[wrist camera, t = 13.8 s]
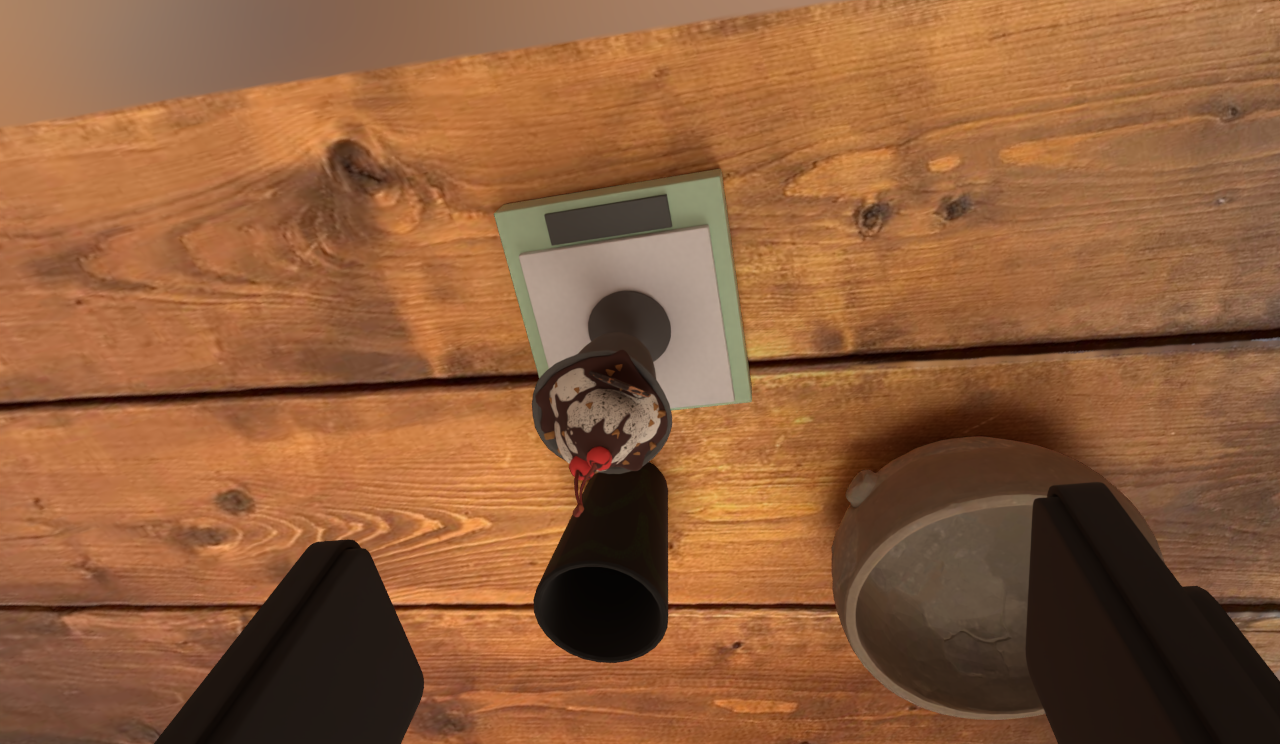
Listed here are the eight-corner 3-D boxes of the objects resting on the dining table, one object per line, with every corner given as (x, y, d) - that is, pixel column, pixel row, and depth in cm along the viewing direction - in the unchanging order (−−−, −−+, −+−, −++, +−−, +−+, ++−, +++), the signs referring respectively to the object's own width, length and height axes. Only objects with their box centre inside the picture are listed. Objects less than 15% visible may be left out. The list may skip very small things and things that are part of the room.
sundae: (606, 395, 46) (552, 558, 33) (554, 302, 43) (473, 438, 30) (704, 357, 44) (688, 514, 31) (655, 258, 41) (615, 382, 28)
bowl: (779, 463, 50) (788, 565, 41) (1053, 351, 44) (1132, 442, 35) (883, 635, 55) (910, 757, 46) (1137, 557, 49) (1223, 680, 41)
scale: (502, 204, 44) (489, 216, 41) (721, 168, 41) (720, 178, 39) (558, 408, 50) (549, 428, 47) (751, 387, 47) (752, 407, 45)
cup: (563, 449, 51) (517, 567, 41) (671, 436, 50) (652, 556, 39) (589, 536, 54) (553, 667, 44) (691, 527, 53) (679, 660, 42)
